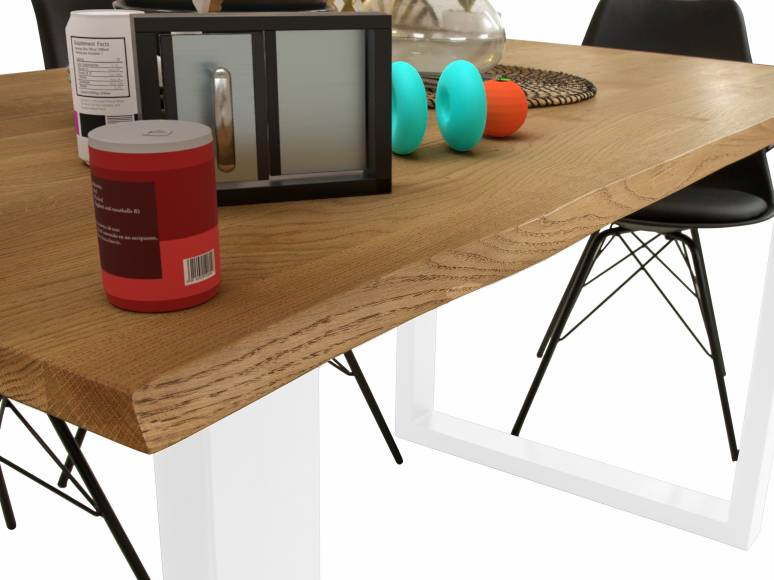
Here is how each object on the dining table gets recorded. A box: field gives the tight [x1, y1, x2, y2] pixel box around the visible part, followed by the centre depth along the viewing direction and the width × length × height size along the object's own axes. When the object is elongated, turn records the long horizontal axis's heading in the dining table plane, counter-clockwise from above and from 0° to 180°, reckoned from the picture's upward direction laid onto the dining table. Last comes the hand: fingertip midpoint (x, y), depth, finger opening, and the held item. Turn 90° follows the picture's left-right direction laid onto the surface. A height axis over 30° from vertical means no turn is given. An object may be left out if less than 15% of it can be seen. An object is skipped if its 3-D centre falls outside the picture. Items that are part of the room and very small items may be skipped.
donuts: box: [392, 59, 487, 156], centre depth 111 cm, size 10×10×10 cm
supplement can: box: [64, 8, 145, 167], centre depth 102 cm, size 8×8×15 cm
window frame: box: [129, 10, 393, 207], centre depth 90 cm, size 22×4×16 cm, turn 112°
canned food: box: [88, 119, 222, 313], centre depth 66 cm, size 8×8×11 cm
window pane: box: [158, 32, 270, 183], centre depth 85 cm, size 9×5×13 cm, turn 112°
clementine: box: [483, 76, 529, 138], centre depth 121 cm, size 8×7×7 cm
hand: (267, 0), depth 72 cm, fingers open, 8 cm apart
